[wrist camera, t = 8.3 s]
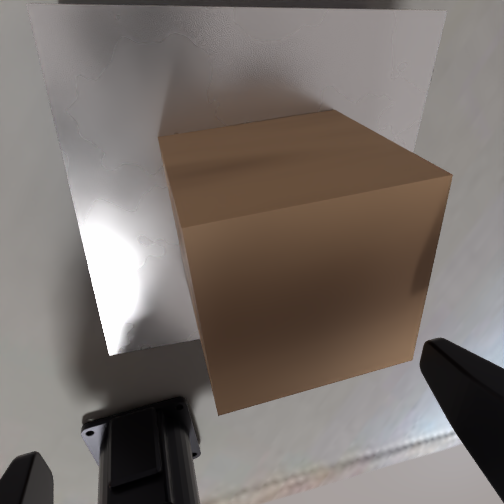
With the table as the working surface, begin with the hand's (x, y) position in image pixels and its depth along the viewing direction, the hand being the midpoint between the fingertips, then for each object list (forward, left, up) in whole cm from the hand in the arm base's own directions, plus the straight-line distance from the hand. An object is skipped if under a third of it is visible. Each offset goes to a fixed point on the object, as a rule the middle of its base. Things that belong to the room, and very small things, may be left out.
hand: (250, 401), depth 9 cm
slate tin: (+1, -2, -12) cm, 12 cm away
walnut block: (+1, -2, -7) cm, 8 cm away
